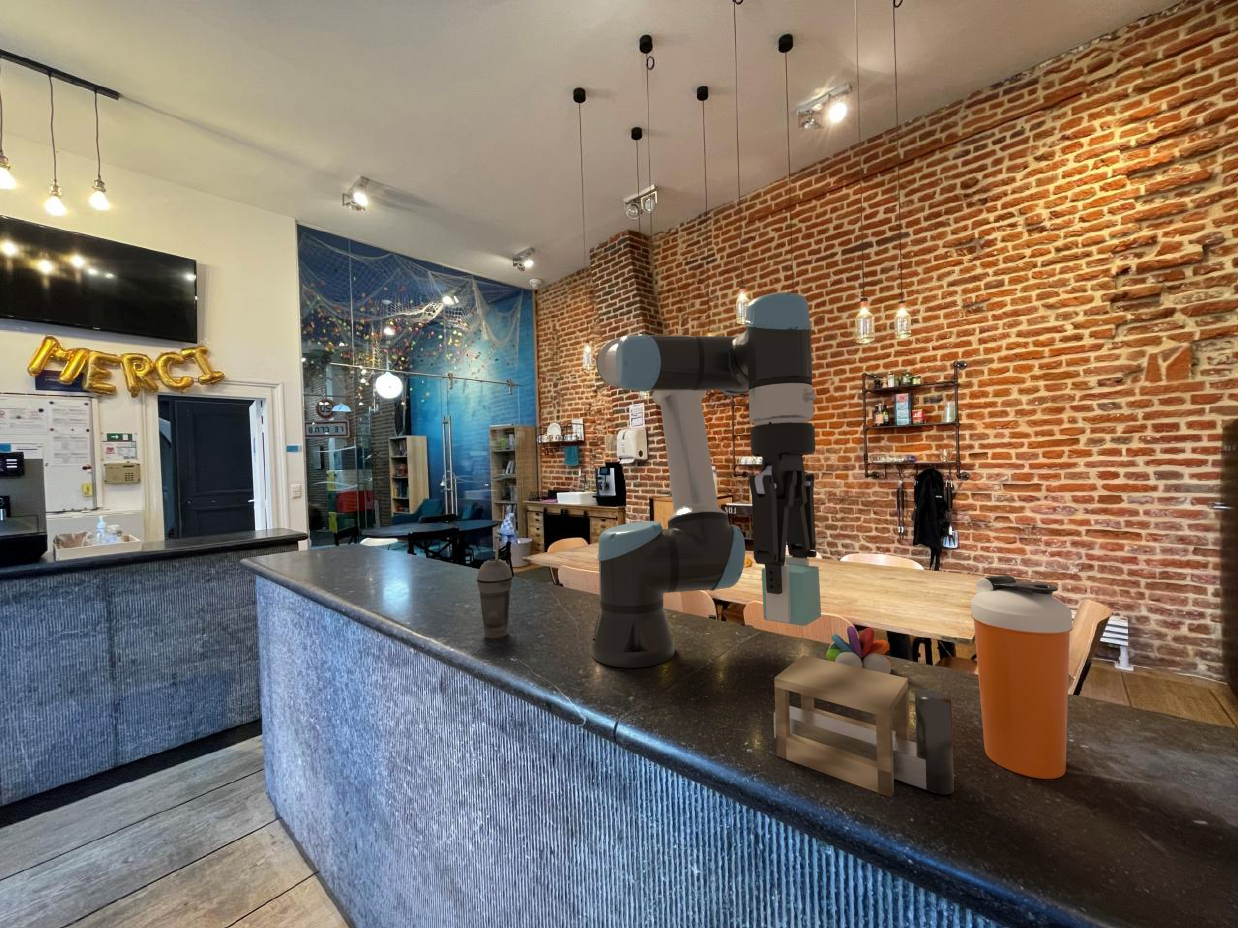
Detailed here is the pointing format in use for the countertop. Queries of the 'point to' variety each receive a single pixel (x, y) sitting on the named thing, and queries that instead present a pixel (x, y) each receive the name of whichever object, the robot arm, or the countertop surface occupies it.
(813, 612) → the block
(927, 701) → the hammer
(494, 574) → the beverage cup
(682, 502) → the robot arm
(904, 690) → the tunnel
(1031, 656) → the shaker bottle
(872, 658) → the rainbow segmented toy
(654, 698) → the countertop surface
